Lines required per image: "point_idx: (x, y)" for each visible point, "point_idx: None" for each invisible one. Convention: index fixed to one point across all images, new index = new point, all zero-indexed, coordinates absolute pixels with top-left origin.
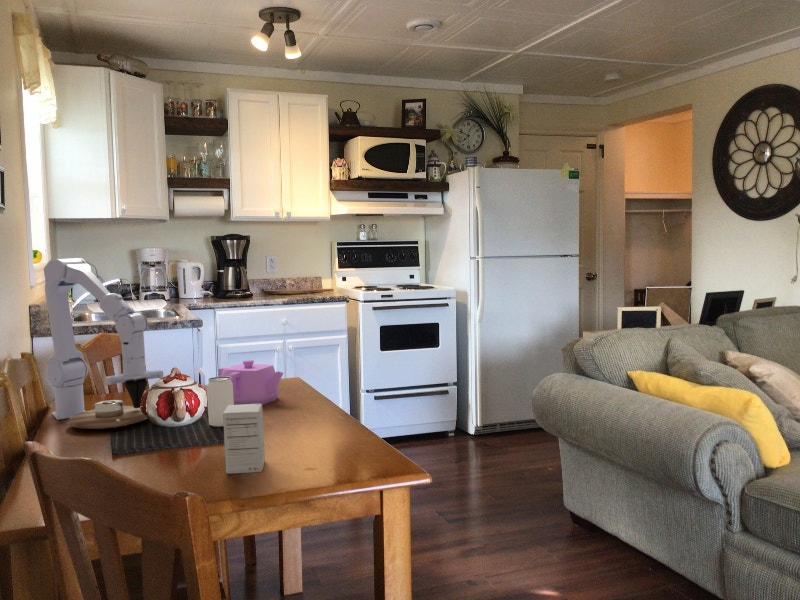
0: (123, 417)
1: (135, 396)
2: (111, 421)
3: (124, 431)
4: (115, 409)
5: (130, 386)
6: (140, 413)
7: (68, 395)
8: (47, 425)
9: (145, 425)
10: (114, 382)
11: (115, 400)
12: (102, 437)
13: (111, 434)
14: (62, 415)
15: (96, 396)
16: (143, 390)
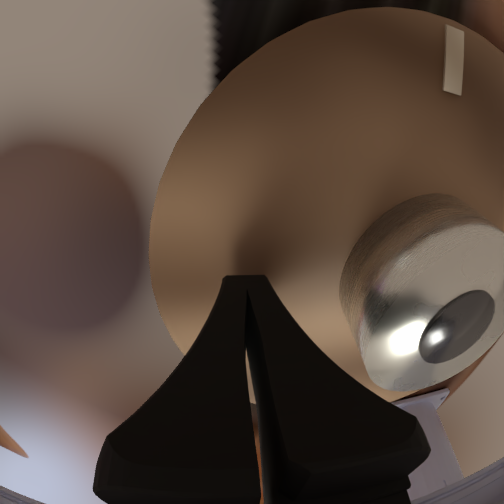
0: (400, 124)
1: (278, 339)
2: (483, 78)
3: (396, 6)
4: (453, 218)
5: (397, 429)
6: (248, 168)
7: (443, 458)
8: (491, 347)
9: (239, 51)
10: (494, 473)
11: (389, 376)
12: (494, 3)
13: (459, 12)
14: (433, 406)
15: (261, 499)
16: (174, 382)
